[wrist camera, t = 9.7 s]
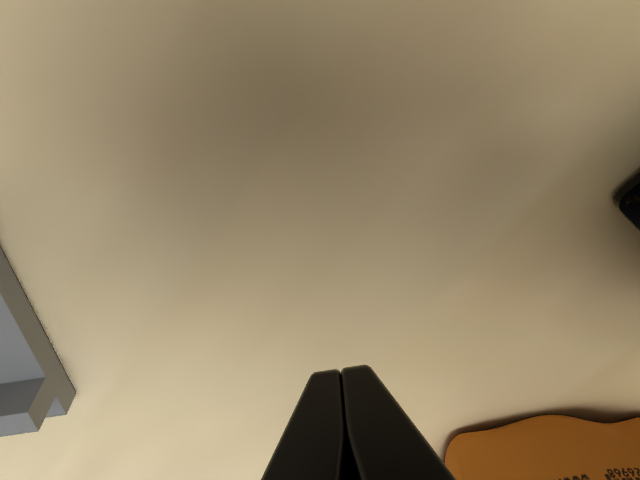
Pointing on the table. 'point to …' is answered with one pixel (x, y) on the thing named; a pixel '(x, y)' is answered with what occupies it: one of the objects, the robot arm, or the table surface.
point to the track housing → (26, 363)
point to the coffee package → (548, 451)
